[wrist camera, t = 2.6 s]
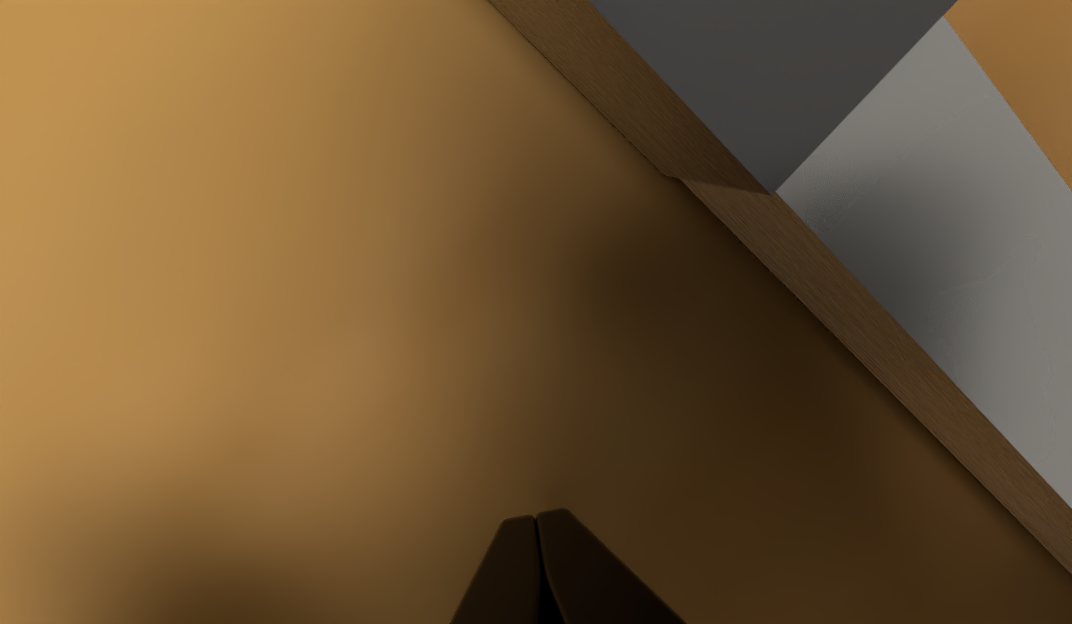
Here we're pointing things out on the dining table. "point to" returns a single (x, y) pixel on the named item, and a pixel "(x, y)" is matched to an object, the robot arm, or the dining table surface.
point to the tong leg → (865, 201)
